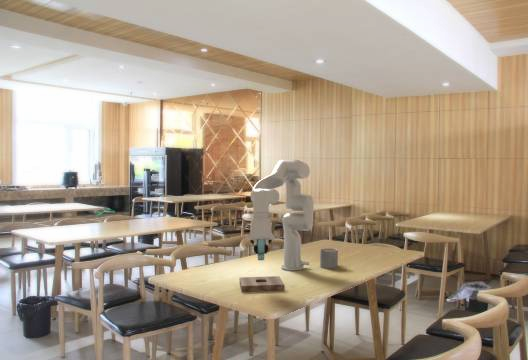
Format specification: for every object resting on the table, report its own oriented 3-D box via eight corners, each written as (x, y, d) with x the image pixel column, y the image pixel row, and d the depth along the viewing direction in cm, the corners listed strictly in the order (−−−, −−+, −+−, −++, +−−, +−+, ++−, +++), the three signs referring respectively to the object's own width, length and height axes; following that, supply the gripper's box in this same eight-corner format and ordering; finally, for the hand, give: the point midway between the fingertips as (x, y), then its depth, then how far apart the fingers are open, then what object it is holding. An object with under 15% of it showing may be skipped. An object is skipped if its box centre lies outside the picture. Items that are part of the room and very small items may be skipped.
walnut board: (279, 282, 225) (279, 276, 225) (284, 290, 209) (284, 284, 209) (239, 283, 223) (239, 277, 223) (241, 292, 207) (241, 285, 207)
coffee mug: (330, 269, 252) (330, 252, 251) (316, 266, 259) (316, 249, 259) (344, 266, 261) (344, 249, 261) (331, 263, 268) (331, 246, 268)
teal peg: (264, 258, 218) (264, 234, 217) (265, 260, 214) (265, 235, 213) (256, 259, 217) (256, 234, 217) (257, 260, 213) (257, 235, 213)
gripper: (277, 214, 220) (277, 251, 220) (243, 214, 218) (243, 252, 218) (279, 216, 212) (279, 254, 213) (244, 216, 210) (244, 255, 211)
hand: (260, 252), depth 215 cm, fingers closed on teal peg, 4 cm apart
